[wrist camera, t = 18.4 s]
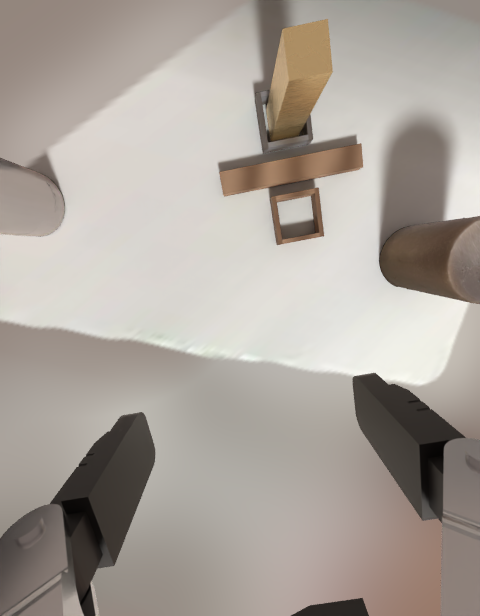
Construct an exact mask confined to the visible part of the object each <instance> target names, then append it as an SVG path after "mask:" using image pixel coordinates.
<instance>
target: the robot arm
mask: <svg viewBox="0 0 480 616" xmlns="http://www.w3.org/2000/svg"><path fill="white" fill-rule="evenodd" d="M64 213H65V205H64V200H63V197H62V195H61V192H60V191H59V189H58V188H57V186H56V185H55V184H54V183H53V182H52V181H51V180H50V179H49V178H48V177H46V176H45V175H43V174H40V173H38V172H36V171H33V170H30V169H28V168H25V167H22V166H20V165H17V164H15V163H12V162H9V161H7V160H4V159H2V158H0V234H5V235H19V236H38V237H41V236H46V235H49V234H51V233H53V232H54V231H55V230H57V229H58V227H59V226H60V225H61V223H62V220H63V218H64ZM353 391H354V400H355V410H356V417H357V420H358V423H359V426H360V428H361V430H362V432H363V434H364V435H365V437H366V438H367V439H368V441H369V442H370V444H371V445H372V447H373V448H374V450H375V451H376V453H377V454H378V456H379V457H380V459H381V460H382V462H383V463H384V465H385V466H386V467H387V469H388V470H389V472H390V473H391V475H392V476H393V478H394V479H395V481H396V482H397V484H398V485H399V487H400V488H401V490H402V491H403V493H404V494H405V496H406V497H407V498H408V500H409V501H410V503H411V504H412V506H413V507H414V508H415V510H416V512H417V513H418V515H419V516H420V517H421V519H422V520H430V519H437V518H438V519H439V520H440V521H441V523H442V559H441V560H442V561H441V616H480V440H478V439H472V438H465V437H464V436H463V435H462V434H461V433H460V432H458V431H457V430H456V429H455V428H454V427H452V426H451V425H450V424H449V423H448V422H446V421H445V420H444V419H443V418H442V417H440V416H439V415H438V414H437V413H435V412H434V411H433V410H432V409H431V410H430V408H429V407H428V406H427V405H426V404H425V403H423V402H421V401H420V399H419V398H417V397H416V396H415V395H414V394H413V393H411V392H410V391H409V390H407V389H404V388H402V387H400V386H398V385H395V384H391V385H388V384H387V383H386V382H385V381H384V380H383V379H382V378H380V377H379V376H378V375H377V374H376V373H371V374H365V375H359V376H354V377H353ZM154 462H155V447H154V443H153V440H152V436H151V433H150V430H149V426H148V423H147V420H146V417H145V415H144V413H142V412H140V413H134V414H128V415H123V416H121V417H120V418H119V419H118V421H117V422H116V423H115V425H114V426H113V428H112V429H111V431H110V432H107V433H106V434H105V435H104V436H102V437H101V438H100V439H99V440H98V441H96V443H94V445H93V446H92V447H91V449H90V450H89V452H88V453H87V454H86V457H84V458H83V460H82V461H81V462H80V464H79V467H77V468H76V469H75V470H74V472H73V473H72V474H71V476H70V477H69V478H68V480H67V481H66V482H65V484H64V485H63V487H62V488H61V489H60V491H59V492H58V493H57V495H56V496H55V498H54V499H53V500H52V501H51V503H50V504H48V505H44V506H41V507H39V508H37V509H35V510H33V511H31V512H29V513H28V514H26V515H25V516H23V517H22V518H21V519H19V520H18V521H17V522H16V523H14V524H13V525H12V526H11V527H10V528H9V529H8V530H7V531H6V532H5V533H4V534H3V536H2V537H1V538H0V616H99V611H98V605H97V599H96V594H95V588H94V585H93V583H92V578H93V576H94V574H95V572H96V569H97V568H103V567H110V566H114V565H115V562H116V560H117V557H118V555H119V552H120V550H121V547H122V545H123V542H124V539H125V537H126V534H127V532H128V529H129V527H130V524H131V522H132V519H133V516H134V514H135V511H136V509H137V506H138V504H139V501H140V499H141V496H142V493H143V491H144V489H145V486H146V483H147V481H148V478H149V476H150V473H151V471H152V468H153V465H154ZM291 616H369V615H368V612H367V609H366V607H365V604H364V601H363V598H360V599H352V600H346V601H338V602H332V603H325V604H317V605H310V606H308V607H306V608H304V609H302V610H301V611H299V612H297V613H295V614H293V615H291Z"/></svg>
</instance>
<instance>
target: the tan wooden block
mask: <svg viewBox="0 0 480 616" xmlns="http://www.w3.org/2000/svg"><path fill="white" fill-rule="evenodd" d="M332 72H333V71H332V60H331V49H330V38H329V28H328V19H325V20H321V21H316V22H312V23H307V24H302V25H298V26H293V27H288V28H284V29H282V34H281V39H280V44H279V49H278V53H277V58H276V63H275V68H274V73H273V78H272V83H271V88H270V93H269V98H268V103H267V108H266V113H267V120H268V127H269V134H270V141H276V140H281V139H286V138H291V137H296V136H299V134H300V132H301V130H302V128H303V126H304V124H305V123H306V121H307V119H308V117H309V115H310V113H311V111H312V109H313V108H314V106H315V104H316V102H317V100H318V98H319V96H320V94H321V93H322V91H323V89H324V87H325V85H326V83H327V81H328V79H329V78H330V76H331V74H332Z"/></svg>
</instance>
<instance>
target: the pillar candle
mask: <svg viewBox="0 0 480 616" xmlns="http://www.w3.org/2000/svg"><path fill="white" fill-rule="evenodd" d="M380 268H381V272H382V274H383V276H384V277H385V278H386V280H387V281H388V282H390V283H391V284H392V285H394V286H396V287H398V286H399V287H403V288H407V289H411V290H416V291H420V292H425V293H429V294H434V295H439V296H443V297H448V298H452V299H457V300H461V301H466V302H470V303H476V304H480V216H477V217H472V218H462V219H455V220H449V221H442V222H434V223H427V224H419V225H413V226H408V227H405V228H402V229H400V230H398V231H396V232H395V233H394V234H392V235H391V237H389V239H388V240H387V241H386V243H385V244H384V246H383V249H382V251H381V255H380Z"/></svg>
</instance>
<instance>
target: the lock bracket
mask: <svg viewBox="0 0 480 616" xmlns="http://www.w3.org/2000/svg"><path fill="white" fill-rule="evenodd" d="M269 93H270V90H267V91H262V92H257V93H256V97H255V104H256V111H257V117H258V124H259V131H260V137H261V144H262V150H263V153H268V152H273V151H278V150H283V149H288V148H293V147H298V146H303V145H308V144H310V142H311V141H312V139H313V134H312V125H311V116H310V115H309V117H308V119H307V121H306V123H305V124H304V126H303V133H304V136H299V137H294V138H289V139H284V140H279V141H274V142H269V143H268V140H267V133H266V126H265V119H264V112H263V106H262V105H263V104H267V103H268V98H269ZM362 167H363V159H362V146H361V144H356V145H351V146H346V147H341V148H336V149H331V150H326V151H321V152H316V153H311V154H306V155H301V156H296V157H291V158H286V159H281V160H276V161H271V162H266V163H262V164H257V165H252V166H247V167H242V168H237V169H232V170H227V171H222V172H219V173H220V179H221V184H222V189H223V195H224V196H229V195H234V194H239V193H244V192H249V191H254V190H259V189H264V188H269V187H274V186H279V185H285V184H290V183H295V182H300V181H305V180H310V179H315V178H320V177H325V176H330V175H335V174H340V173H345V172H350V171H355V170H359V169H360V168H362ZM307 196H311V200H312V208H313V217H314V225H315V234H310V235H304V236H299V237H294V238H289V239H283V240H282V235H281V229H280V222H279V215H278V208H277V202H281V201H287V200H292V199H297V198H302V197H307ZM270 203H271V210H272V217H273V223H274V230H275V236H276V243H277V245H280V244H285V243H290V242H295V241H301V240H306V239H311V238H316V237H322V236H324V232H323V223H322V214H321V205H320V196H319V188H314V189H309V190H304V191H299V192H294V193H289V194H284V195H278V196H273V197H271V199H270Z"/></svg>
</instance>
